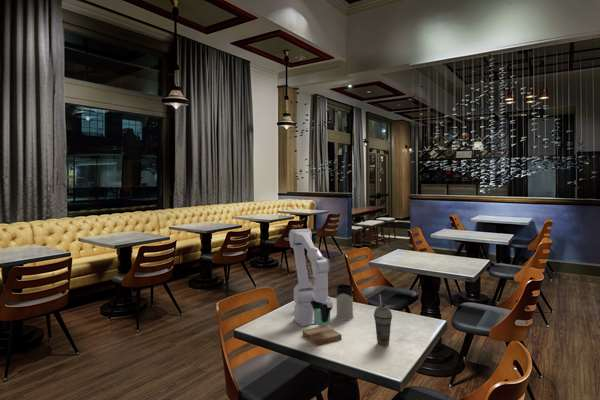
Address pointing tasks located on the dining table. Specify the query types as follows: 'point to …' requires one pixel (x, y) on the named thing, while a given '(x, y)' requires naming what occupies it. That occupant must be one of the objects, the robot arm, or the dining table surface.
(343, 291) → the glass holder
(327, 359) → the dining table surface
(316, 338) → the walnut base
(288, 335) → the dining table surface
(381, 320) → the beverage cup
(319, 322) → the teal block
